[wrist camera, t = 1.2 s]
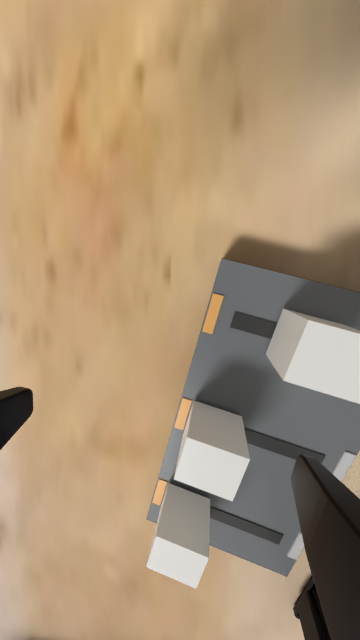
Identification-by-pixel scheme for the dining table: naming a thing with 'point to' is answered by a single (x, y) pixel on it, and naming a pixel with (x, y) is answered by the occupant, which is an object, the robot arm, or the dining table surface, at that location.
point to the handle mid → (213, 451)
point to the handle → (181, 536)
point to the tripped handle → (317, 354)
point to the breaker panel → (263, 410)
